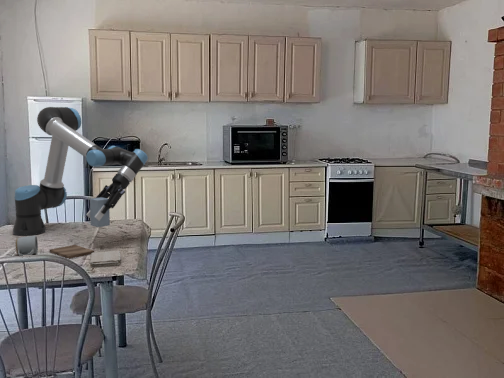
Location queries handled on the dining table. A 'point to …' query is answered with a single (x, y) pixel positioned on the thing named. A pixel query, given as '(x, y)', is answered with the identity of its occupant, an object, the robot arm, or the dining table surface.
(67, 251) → the walnut board
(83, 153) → the robot arm
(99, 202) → the slate block
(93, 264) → the washcloth
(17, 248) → the ceramic mug
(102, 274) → the dining table surface
